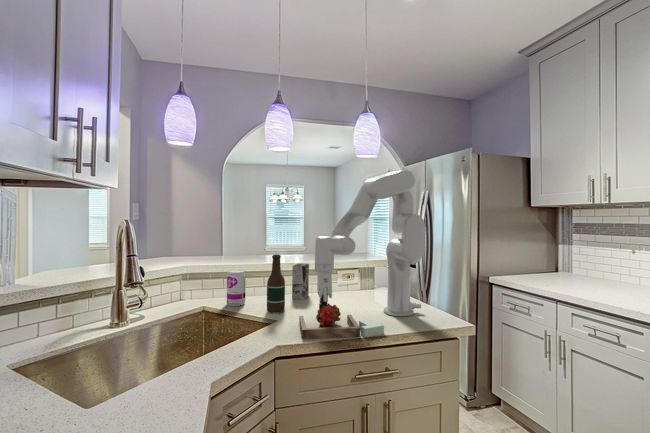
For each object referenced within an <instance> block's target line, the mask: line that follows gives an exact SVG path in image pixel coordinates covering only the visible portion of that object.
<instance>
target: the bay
mask: <svg viewBox="0 0 650 433" xmlns="http://www.w3.org/2000/svg"><path fill="white" fill-rule="evenodd" d="M346 316H347V317H346V320H347V321H346V323H347V325H348V326H335V327H334V326H332V327H331V326H330V327H307V326H306V325H307V324H306V321H305V316H304V315H299V318H298V320H299V321H298V322H299V324H298V325H299V329H300V334H301V339H302V340H303V339H304V340H305V339H306V340H307V339H326V338H328V339H330V338H357V337H358V338H359V337H361V330H360V327H359V323H357V321H356V319H355V318H354V316H352V314H346Z"/></svg>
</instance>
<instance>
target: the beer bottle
mask: <svg viewBox="0 0 650 433" xmlns="http://www.w3.org/2000/svg"><path fill="white" fill-rule="evenodd" d="M281 256H282V255H280V254H273V255H272V256H271V258H272V264H271V273H270V275H269V276H268V279H267V281H266V282H267V284H266V312H267V313H270V314H279V313H283V312H284V311H285V307H286V306H285V304H286V303H285V302H286V281H285V280H286V279H285V277H284V276H283V274H282V270H281Z"/></svg>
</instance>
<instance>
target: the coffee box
mask: <svg viewBox="0 0 650 433" xmlns="http://www.w3.org/2000/svg"><path fill="white" fill-rule="evenodd" d="M309 271H310V264H309V263H296V264H294V265H292V278H291V279H292V280H291V282H292V283H291V285H292V286H291V298H292V299H295V300H305V299H306V298H307V297H308V296H309V295H310V294H309V292H310V290H309V289H310V288H309V286H310V285H309V284H310V283H309V281H310V280H309V278H310V272H309Z"/></svg>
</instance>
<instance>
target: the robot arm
mask: <svg viewBox="0 0 650 433" xmlns="http://www.w3.org/2000/svg"><path fill="white" fill-rule="evenodd" d="M415 184H416V177H415V175H414V173H413V172H412V171H410V170H408V169H402V170H395V171H390V172H388V173H386V174H384V176H382V177H374V178H370V179H367V180H365V181H364V182H363V184H362V185H361V186H360V189H359V190H358V193H357V195H356V196H355V198H354V200H353V202H352V204H351V205H350V207H349V210H348V211H346V213H345V214H344V215H343V216H342V218H340V220H339V221H338V222H337V223H336V226H334V229H333V231H331V234H330V235H329V236H325V235H321V236H317V237H316V238H315V243H314V244H315V245H314V246H315V247H314V272H315V273H317V282H316V284H317V295H318V298H319V303H318V310H319V309H320V308H322V306H323V305H324V306H327V305H328V304H329V302H328V301H329V300H328V298H329V299H332V298H333V277H332V275H333V273H334V272H335V271H334V270H335V255H336V256H337V255H339V256H350V255H351V254H353V253H354V252H355V250H356V242H355V240H354V239H353V238H352V237H350V236H351V234H352V232H353V231H354V230H355V229H356V228H358V226H360V225H362V224H364V223H365V222H367V221H368V220H369V218H370V216H371V214H372V212H373V211H374V208H375V206H376V204H377V202H378V200H384V199H388V198H391V197H392V202H393V206H392V208H393V209H392V217H391V230H392V232H393V233H394V234H396V235H398V236H402V237H403V238H401V237H399V238H393V239H391V240H390V241H389V242H388V243H387V245H386V250H385V251H386V261H387V298H386V299H387V300H386V301H387V302H386V303H387V305H386V306H385V307H384V308H383V312H384V314H386V315H389V316H392V317H393V316H394V317H402V318H403V317H411V316H413V315H414V314H415V310H414V309H418V310H419V309H422V304H421V303H416V302H412V301H411V282H412V281H411V276H412V274H411V273H412V272H411V270H412V269H411V265H416V264H417V263H419V262H420V261H421V259H422V257H423V255H424V248H425V238H426V224H425V221H424V219H423V217H422V216H421V215H419V214H418V213H414V205H415V202H414V196H413V194H412V192H411V189H412V188H413V187H414V185H415Z"/></svg>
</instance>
